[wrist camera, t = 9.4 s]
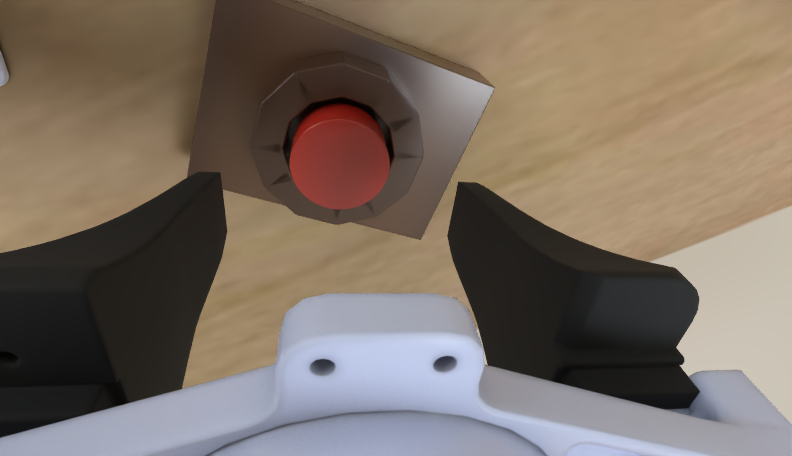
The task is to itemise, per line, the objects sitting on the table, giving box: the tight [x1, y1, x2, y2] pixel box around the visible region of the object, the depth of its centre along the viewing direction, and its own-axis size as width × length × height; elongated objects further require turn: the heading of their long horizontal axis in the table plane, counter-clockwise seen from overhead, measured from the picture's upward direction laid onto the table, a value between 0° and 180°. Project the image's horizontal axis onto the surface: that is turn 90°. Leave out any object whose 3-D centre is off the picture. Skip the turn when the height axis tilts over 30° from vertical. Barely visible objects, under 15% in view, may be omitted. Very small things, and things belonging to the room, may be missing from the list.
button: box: [290, 103, 390, 209], centre depth 17 cm, size 4×4×2 cm
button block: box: [187, 0, 495, 240], centre depth 19 cm, size 11×8×4 cm
